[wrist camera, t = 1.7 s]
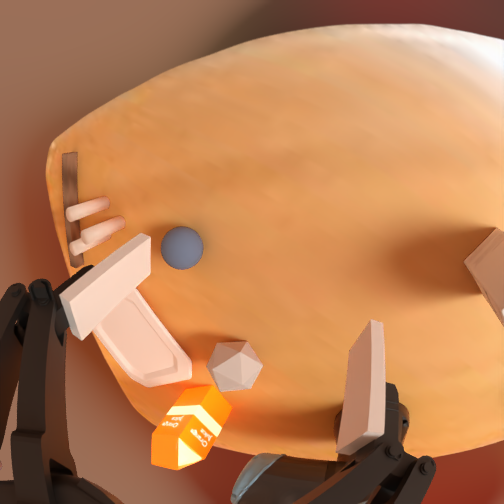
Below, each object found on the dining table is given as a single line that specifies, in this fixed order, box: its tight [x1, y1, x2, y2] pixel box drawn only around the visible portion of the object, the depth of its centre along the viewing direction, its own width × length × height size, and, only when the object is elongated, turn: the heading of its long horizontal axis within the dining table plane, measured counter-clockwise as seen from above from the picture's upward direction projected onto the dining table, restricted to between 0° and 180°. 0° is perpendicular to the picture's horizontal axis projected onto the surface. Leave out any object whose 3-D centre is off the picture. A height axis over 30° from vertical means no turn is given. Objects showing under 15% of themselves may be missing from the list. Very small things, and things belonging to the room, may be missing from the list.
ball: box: [161, 227, 203, 270], centre depth 38 cm, size 6×6×6 cm
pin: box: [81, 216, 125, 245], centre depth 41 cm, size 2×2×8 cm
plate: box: [93, 288, 192, 387], centre depth 54 cm, size 25×25×2 cm
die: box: [207, 341, 263, 392], centre depth 42 cm, size 8×9×10 cm
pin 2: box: [69, 234, 111, 256], centre depth 43 cm, size 2×2×8 cm
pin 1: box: [66, 196, 110, 222], centre depth 41 cm, size 2×2×8 cm
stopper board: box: [62, 152, 84, 268], centre depth 47 cm, size 24×2×2 cm, turn 172°
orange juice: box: [151, 385, 232, 470], centre depth 46 cm, size 8×9×20 cm
